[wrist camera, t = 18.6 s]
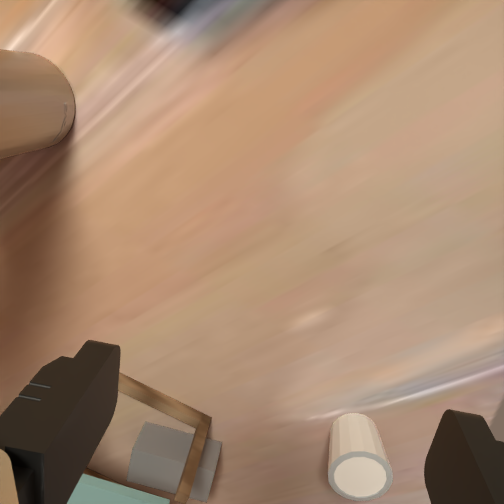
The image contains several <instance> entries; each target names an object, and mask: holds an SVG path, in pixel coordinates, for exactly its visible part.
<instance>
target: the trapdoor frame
mask: <svg viewBox="0 0 504 504" xmlns="http://www.w3.org/2000/svg"><path fill="white" fill-rule="evenodd" d="M118 391H120V392H122V393H124V394H127V395H129V396H131V397H133V398H135V399H137V400H139V401H141V402H143V403H145V404H147V405H149V406H151V407H153V408H155V409H157V410H159V411H162V412H164V413H166V414H168V415H170V416H172V417H174V418H176V419H178V420H180V421H182V422H184V423H186V424H188V425H190V426H192V427H194V428H196V431H195V434H194V437H193V440H192V443H191V446H190V450H189V453H188V456H187V459H186V462H185V466H184V469H183V472H182V475H181V478H180V482H179V485H178V488H177V491H176V494H175V498H174V500H175V501H177V502H179V503H182V504H185V503H186V502H187V500H188V499H189V497H190V493H191V489H192V486H193V482H194V479H195V475H196V471H197V468H198V464H199V461H200V457H201V453H202V450H203V446H204V443H205V439H206V435H207V432H208V428H209V425H210V421H211V417H209V416H207V415H205V414H203V413H201V412H199V411H197V410H195V409H193V408H191V407H189V406H187V405H185V404H183V403H181V402H179V401H177V400H175V399H173V398H171V397H169V396H166V395H164V394H162V393H160V392H158V391H156V390H154V389H152V388H150V387H148V386H146V385H144V384H142V383H140V382H138V381H136V380H134V379H132V378H130V377H128V376H126V375H123V374H121V373H119V383H118ZM83 474H86V475H90V476H93V477H96V478H99V479H103V480H106V481H109V482H113V483H116V484H119V483H117V482H115V481H113V480H111V479H109V478H107V477H105V476H103V475H100V474H98V473H96V472H94V471H92V470H90V469H88V468H86V469H85V470H84V472H83ZM119 485H122V484H119ZM123 486H124V485H123Z"/></svg>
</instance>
